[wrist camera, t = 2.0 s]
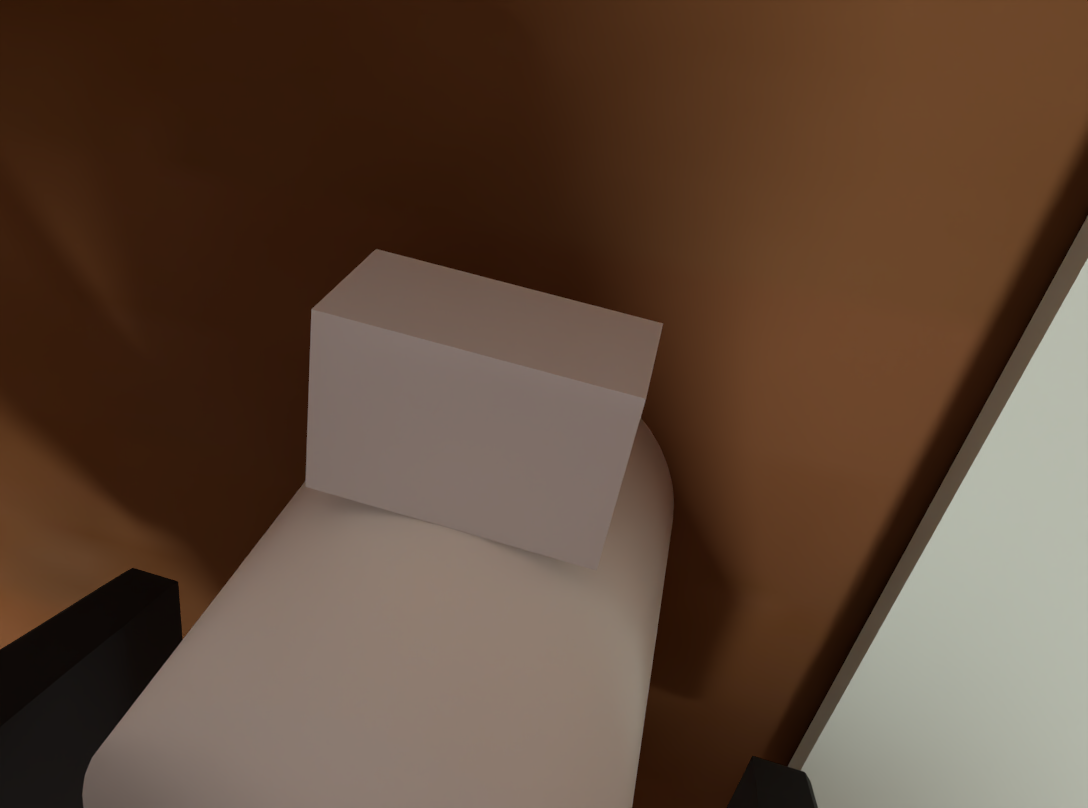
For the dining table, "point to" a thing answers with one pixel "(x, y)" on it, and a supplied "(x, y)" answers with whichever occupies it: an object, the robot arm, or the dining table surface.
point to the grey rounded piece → (431, 572)
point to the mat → (983, 607)
